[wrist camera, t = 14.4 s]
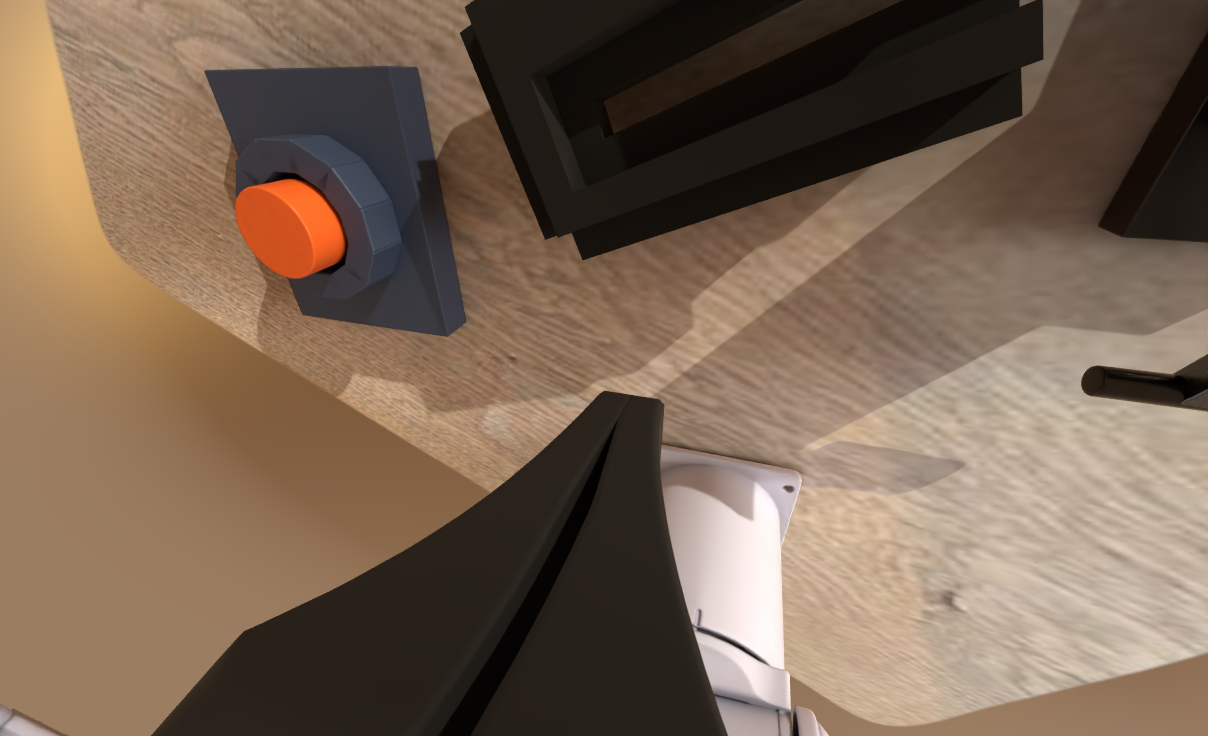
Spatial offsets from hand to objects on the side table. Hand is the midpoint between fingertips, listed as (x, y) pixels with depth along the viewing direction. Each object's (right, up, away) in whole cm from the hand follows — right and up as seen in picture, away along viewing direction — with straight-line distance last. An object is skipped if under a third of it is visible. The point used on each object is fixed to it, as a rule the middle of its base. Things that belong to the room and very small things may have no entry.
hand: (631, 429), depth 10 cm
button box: (-12, +9, +11) cm, 19 cm away
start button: (-13, +7, +9) cm, 18 cm away
